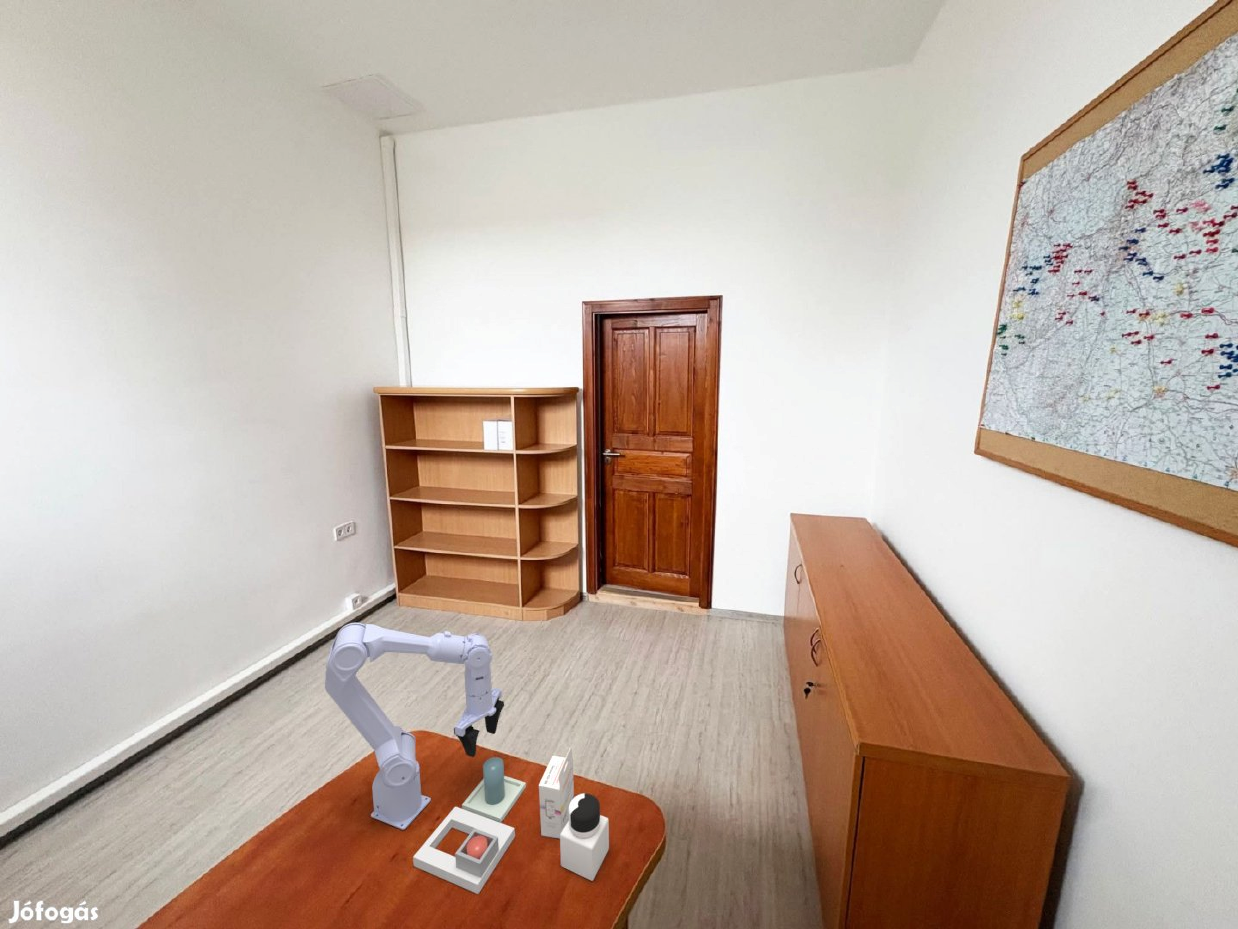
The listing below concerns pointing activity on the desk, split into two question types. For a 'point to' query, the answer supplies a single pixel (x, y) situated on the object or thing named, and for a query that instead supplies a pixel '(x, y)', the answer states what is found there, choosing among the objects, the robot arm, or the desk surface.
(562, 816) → the ink cartridge box
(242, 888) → the desk surface
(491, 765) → the cylinder
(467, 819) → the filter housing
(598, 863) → the medicine bottle
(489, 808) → the tray
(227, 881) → the desk surface
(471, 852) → the release plunger
